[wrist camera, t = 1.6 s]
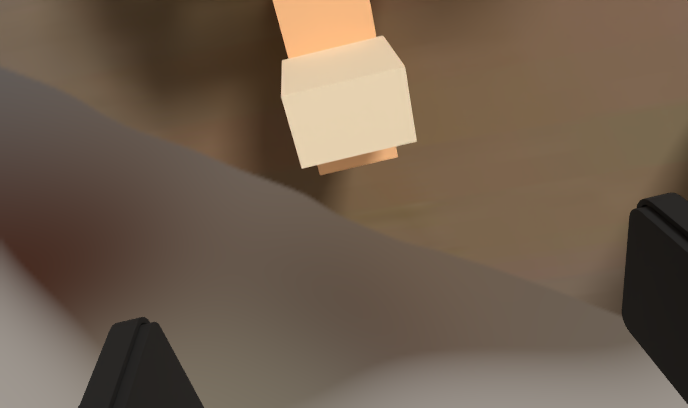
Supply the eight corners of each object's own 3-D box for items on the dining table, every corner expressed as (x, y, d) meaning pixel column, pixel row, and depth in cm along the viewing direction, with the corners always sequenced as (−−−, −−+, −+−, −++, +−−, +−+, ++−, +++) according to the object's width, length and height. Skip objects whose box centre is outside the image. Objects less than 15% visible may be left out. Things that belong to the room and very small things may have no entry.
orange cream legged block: (370, 83, 37) (426, 205, 22) (306, 98, 37) (319, 230, 22) (343, -58, 32) (391, -22, 17) (270, -39, 32) (256, 11, 18)
